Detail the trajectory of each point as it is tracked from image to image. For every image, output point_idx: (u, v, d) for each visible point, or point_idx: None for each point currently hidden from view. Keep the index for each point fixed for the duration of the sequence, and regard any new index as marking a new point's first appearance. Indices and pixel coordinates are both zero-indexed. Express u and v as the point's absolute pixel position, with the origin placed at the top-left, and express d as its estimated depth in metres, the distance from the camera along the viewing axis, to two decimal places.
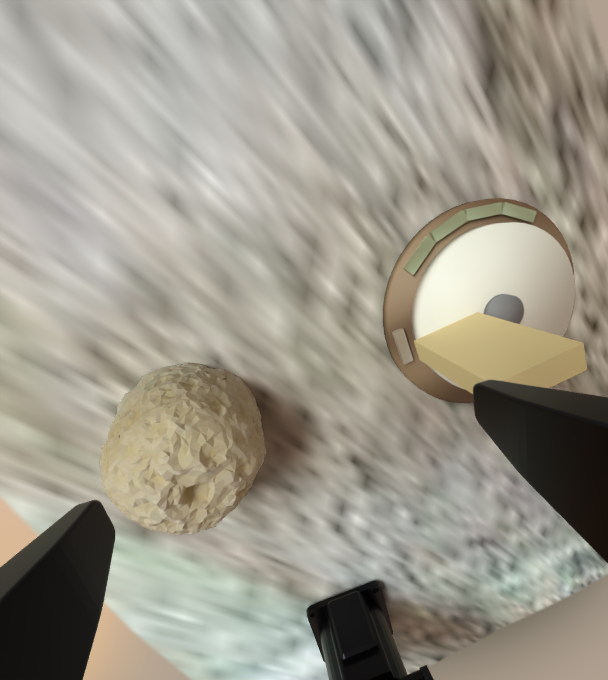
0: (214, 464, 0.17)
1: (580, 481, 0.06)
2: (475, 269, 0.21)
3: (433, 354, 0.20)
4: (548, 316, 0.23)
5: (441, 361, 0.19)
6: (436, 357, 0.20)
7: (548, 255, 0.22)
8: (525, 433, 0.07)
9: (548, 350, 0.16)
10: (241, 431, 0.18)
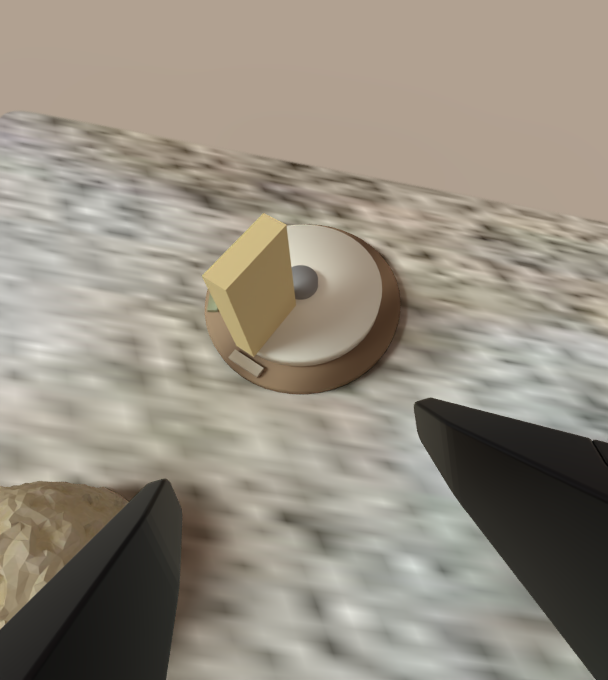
0: None
1: (500, 508, 0.06)
2: None
3: (231, 331, 0.20)
4: (347, 263, 0.25)
5: (230, 326, 0.19)
6: (231, 329, 0.20)
7: (306, 234, 0.26)
8: (454, 456, 0.07)
9: None
10: (45, 496, 0.16)
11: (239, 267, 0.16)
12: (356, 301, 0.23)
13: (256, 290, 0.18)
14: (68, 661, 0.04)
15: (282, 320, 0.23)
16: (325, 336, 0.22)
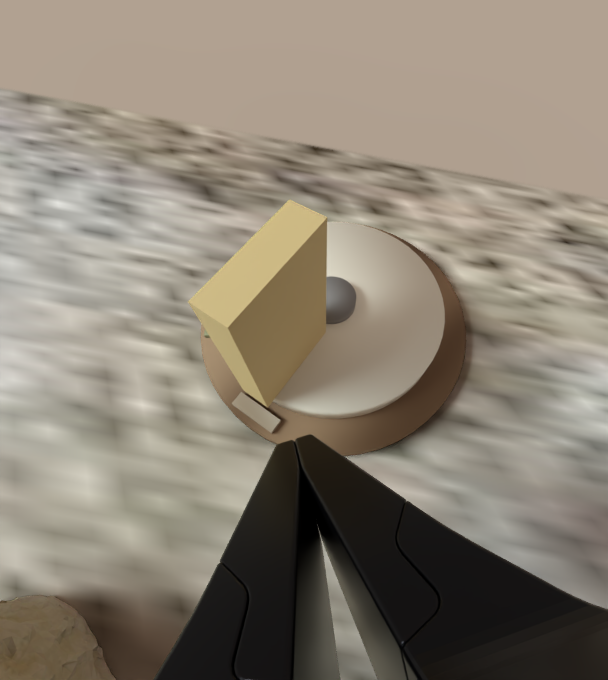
0: None
1: (337, 563, 0.06)
2: None
3: (236, 375, 0.14)
4: (394, 274, 0.18)
5: (234, 369, 0.13)
6: (236, 373, 0.13)
7: (336, 234, 0.20)
8: (312, 502, 0.07)
9: None
10: None
11: (251, 287, 0.09)
12: (409, 327, 0.17)
13: (276, 320, 0.11)
14: None
15: (307, 354, 0.16)
16: (368, 378, 0.16)
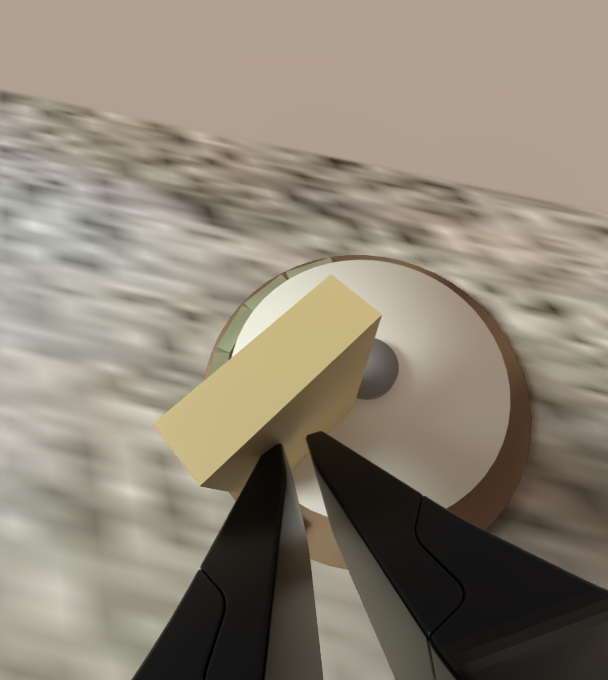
0: None
1: (352, 558, 0.06)
2: None
3: None
4: (451, 345, 0.14)
5: None
6: None
7: (386, 279, 0.16)
8: (325, 497, 0.07)
9: None
10: None
11: (249, 416, 0.06)
12: (461, 423, 0.13)
13: (285, 436, 0.08)
14: None
15: None
16: None
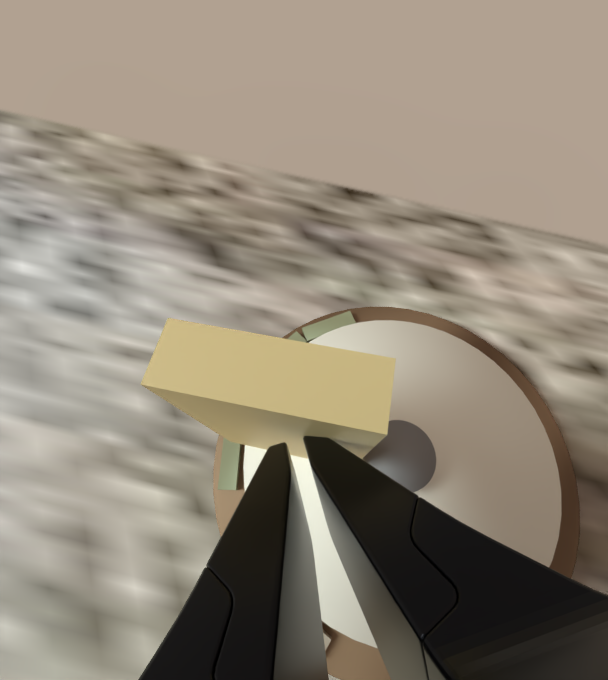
0: None
1: (348, 560, 0.06)
2: None
3: None
4: (492, 533, 0.11)
5: None
6: None
7: (510, 417, 0.13)
8: (321, 499, 0.07)
9: None
10: None
11: (213, 382, 0.06)
12: None
13: (247, 423, 0.08)
14: None
15: None
16: None
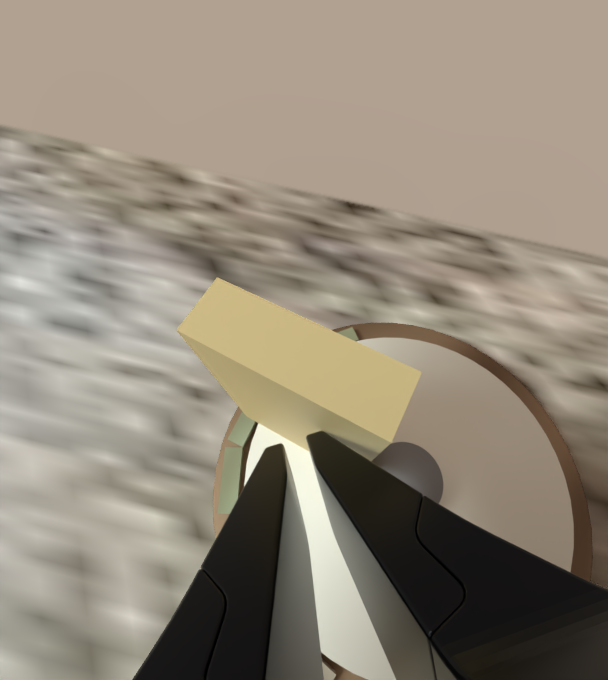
0: None
1: (352, 558, 0.06)
2: None
3: None
4: None
5: None
6: None
7: (535, 478, 0.12)
8: (325, 497, 0.07)
9: None
10: None
11: (240, 346, 0.07)
12: None
13: (263, 397, 0.08)
14: None
15: None
16: None
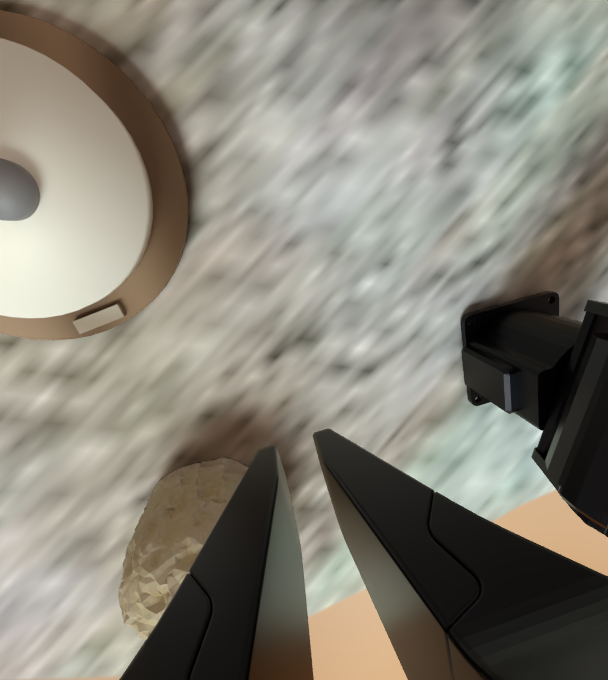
0: (167, 595, 0.17)
1: (362, 555, 0.06)
2: None
3: None
4: (102, 194, 0.15)
5: None
6: None
7: (54, 91, 0.14)
8: (333, 495, 0.07)
9: None
10: (152, 551, 0.17)
11: None
12: (86, 263, 0.16)
13: None
14: None
15: None
16: (18, 292, 0.16)
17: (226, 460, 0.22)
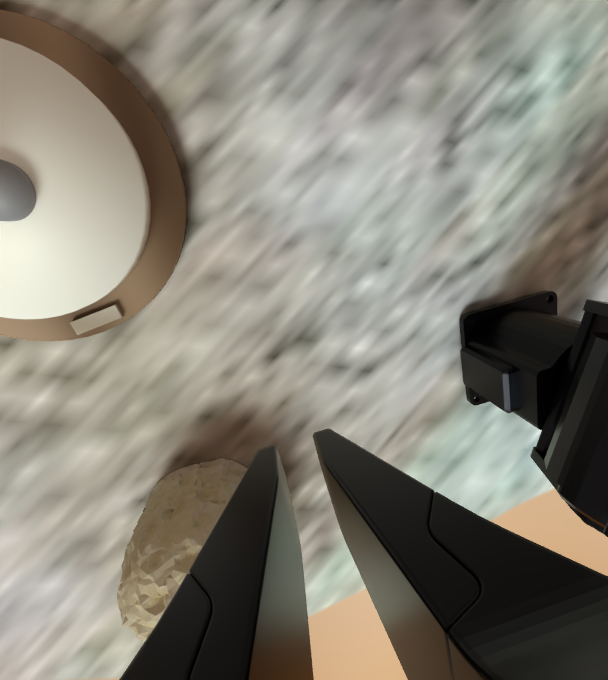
0: (166, 597, 0.17)
1: (362, 555, 0.06)
2: None
3: None
4: (99, 194, 0.15)
5: None
6: None
7: (51, 90, 0.14)
8: (333, 495, 0.07)
9: None
10: (151, 553, 0.17)
11: None
12: (83, 264, 0.16)
13: None
14: None
15: None
16: (15, 293, 0.16)
17: (225, 461, 0.22)
